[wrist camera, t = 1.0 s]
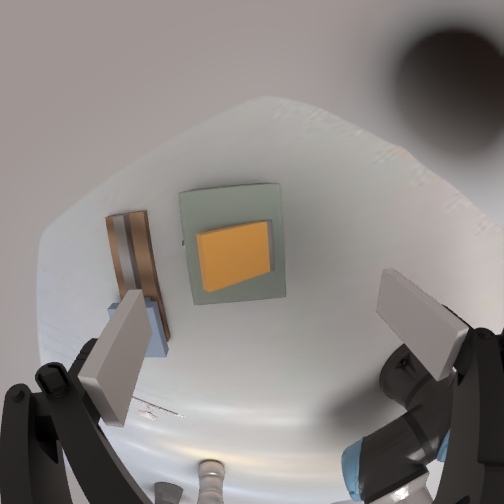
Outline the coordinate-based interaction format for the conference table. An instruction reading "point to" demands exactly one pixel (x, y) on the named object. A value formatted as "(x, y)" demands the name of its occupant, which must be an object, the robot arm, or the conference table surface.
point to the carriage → (158, 339)
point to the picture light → (149, 415)
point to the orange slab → (235, 254)
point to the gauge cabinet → (227, 215)
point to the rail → (135, 257)
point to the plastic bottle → (211, 483)
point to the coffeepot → (167, 493)
